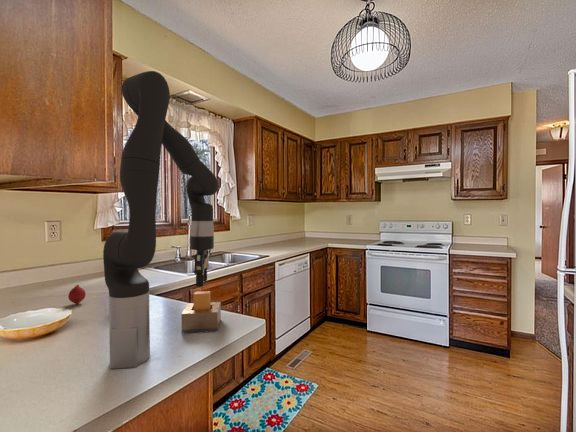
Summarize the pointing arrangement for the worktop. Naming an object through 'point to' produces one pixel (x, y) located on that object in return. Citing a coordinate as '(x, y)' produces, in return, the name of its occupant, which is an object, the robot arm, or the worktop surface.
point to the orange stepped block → (202, 300)
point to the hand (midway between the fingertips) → (201, 283)
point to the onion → (76, 294)
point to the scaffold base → (201, 318)
